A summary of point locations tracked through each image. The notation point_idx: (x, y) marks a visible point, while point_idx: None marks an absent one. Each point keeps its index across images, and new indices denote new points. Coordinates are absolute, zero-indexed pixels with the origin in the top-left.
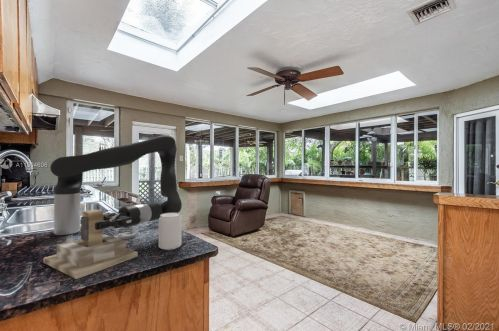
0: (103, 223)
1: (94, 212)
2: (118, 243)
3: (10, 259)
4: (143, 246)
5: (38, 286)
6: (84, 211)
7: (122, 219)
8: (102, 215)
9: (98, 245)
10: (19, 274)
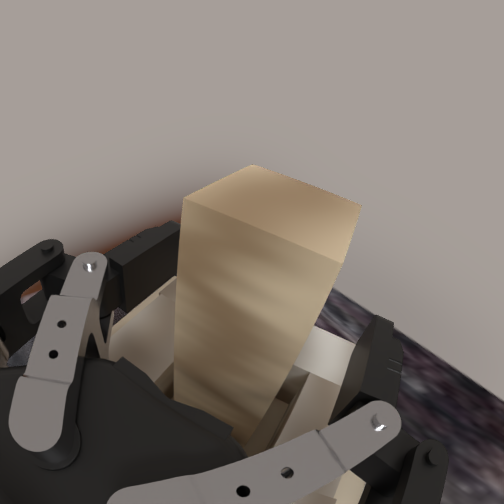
0: (134, 237)
1: (232, 177)
2: None
3: (476, 391)
4: None
5: None
6: (350, 205)
7: (2, 268)
8: (180, 249)
9: (162, 337)
10: (356, 323)
